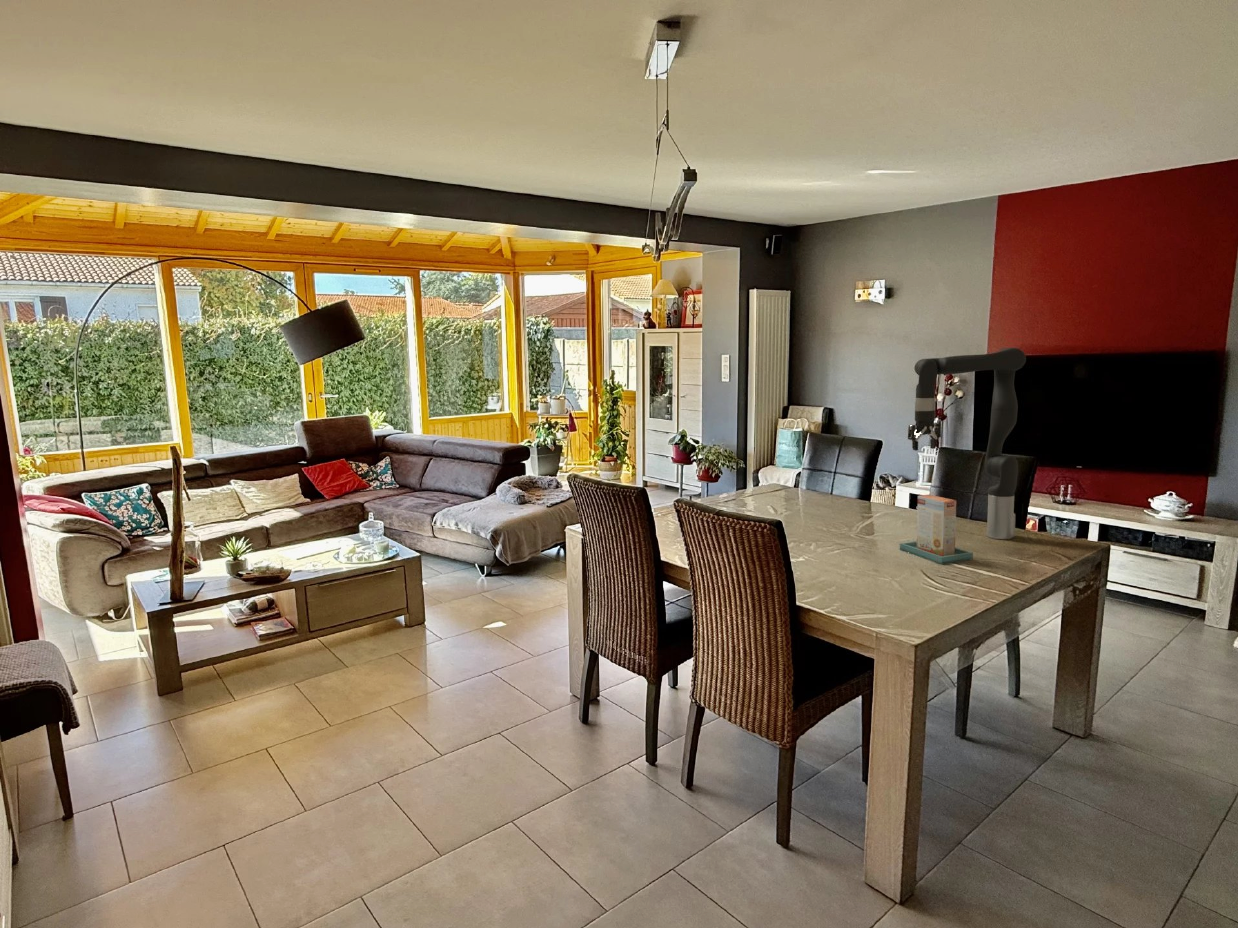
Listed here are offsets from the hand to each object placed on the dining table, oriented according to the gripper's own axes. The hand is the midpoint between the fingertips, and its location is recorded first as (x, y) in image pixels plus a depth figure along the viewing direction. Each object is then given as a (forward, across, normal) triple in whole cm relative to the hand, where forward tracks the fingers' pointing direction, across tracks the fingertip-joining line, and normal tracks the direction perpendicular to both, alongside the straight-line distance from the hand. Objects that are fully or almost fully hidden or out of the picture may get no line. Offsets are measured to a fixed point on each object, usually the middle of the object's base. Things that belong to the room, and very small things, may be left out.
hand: (924, 449), depth 295 cm
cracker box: (+36, +14, +23) cm, 44 cm away
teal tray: (+36, +14, +23) cm, 45 cm away
